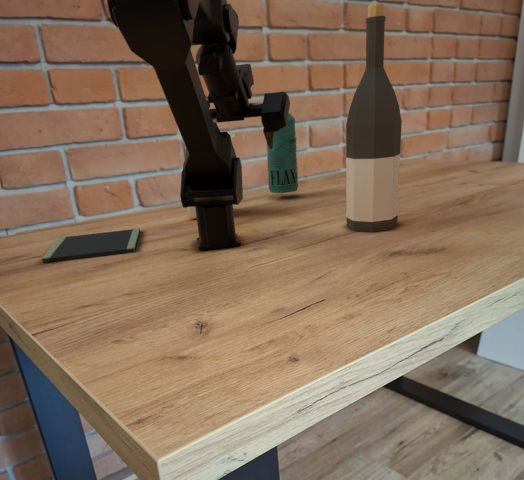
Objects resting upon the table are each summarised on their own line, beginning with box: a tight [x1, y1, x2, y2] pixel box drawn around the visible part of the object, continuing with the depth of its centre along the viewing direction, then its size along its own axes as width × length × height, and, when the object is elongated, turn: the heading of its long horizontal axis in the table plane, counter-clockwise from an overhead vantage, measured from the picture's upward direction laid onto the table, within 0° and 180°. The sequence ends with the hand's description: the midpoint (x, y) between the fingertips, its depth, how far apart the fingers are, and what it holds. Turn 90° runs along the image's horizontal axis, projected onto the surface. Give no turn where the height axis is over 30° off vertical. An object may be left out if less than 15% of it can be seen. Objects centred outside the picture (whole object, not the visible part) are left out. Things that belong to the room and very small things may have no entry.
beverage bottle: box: [266, 112, 299, 194], centre depth 106 cm, size 6×7×20 cm
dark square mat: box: [41, 227, 141, 263], centre depth 85 cm, size 14×14×1 cm
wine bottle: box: [345, 3, 403, 233], centre depth 76 cm, size 8×8×30 cm
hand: (248, 149), depth 97 cm, fingers open, 9 cm apart
